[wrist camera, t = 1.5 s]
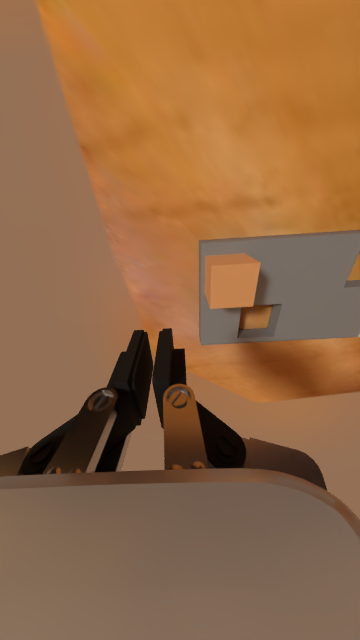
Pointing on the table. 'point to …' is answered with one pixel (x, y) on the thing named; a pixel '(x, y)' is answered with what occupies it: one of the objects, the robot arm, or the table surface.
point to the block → (231, 280)
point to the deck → (289, 288)
